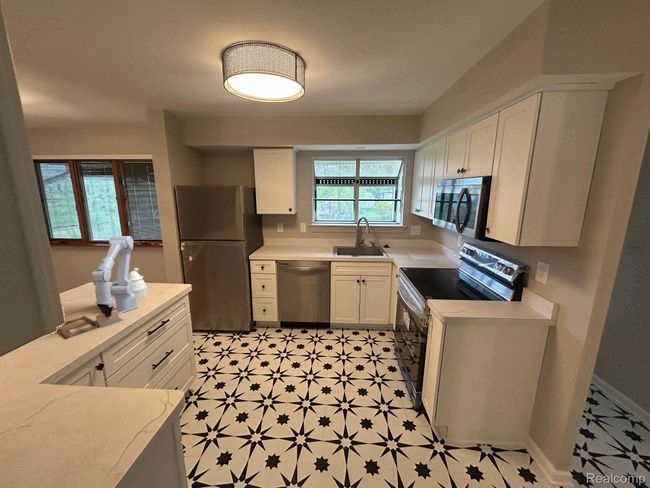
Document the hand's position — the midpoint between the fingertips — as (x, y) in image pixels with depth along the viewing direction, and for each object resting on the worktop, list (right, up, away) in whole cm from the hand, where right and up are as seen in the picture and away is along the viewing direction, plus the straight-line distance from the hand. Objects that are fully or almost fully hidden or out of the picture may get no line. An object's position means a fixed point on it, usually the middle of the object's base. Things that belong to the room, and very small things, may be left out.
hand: (107, 316), depth 142 cm
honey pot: (-11, +4, +37) cm, 39 cm away
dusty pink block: (0, -3, +1) cm, 3 cm away
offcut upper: (-6, -5, -9) cm, 12 cm away
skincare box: (-16, +1, +18) cm, 24 cm away
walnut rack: (-10, -5, -7) cm, 13 cm away
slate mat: (0, -3, +1) cm, 3 cm away
